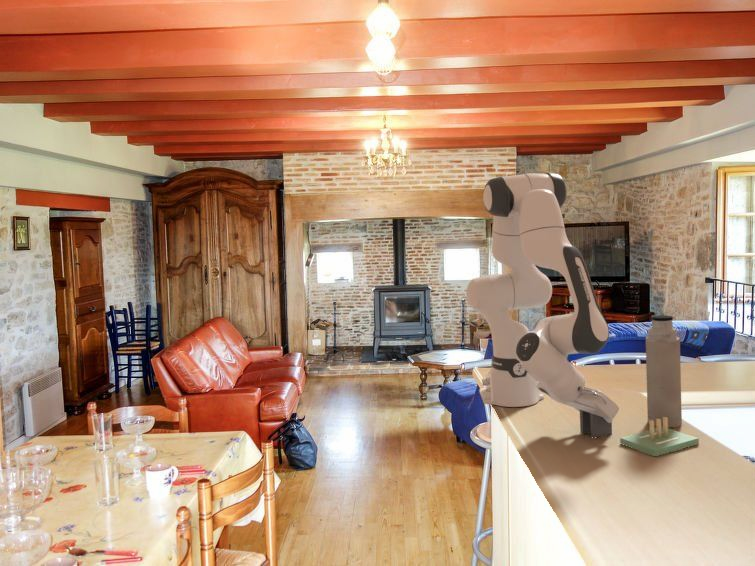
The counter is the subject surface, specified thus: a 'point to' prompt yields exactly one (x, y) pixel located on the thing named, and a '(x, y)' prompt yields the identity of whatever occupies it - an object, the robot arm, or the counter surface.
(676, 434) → the header board
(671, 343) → the thermos bottle
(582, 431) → the block
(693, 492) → the counter surface
